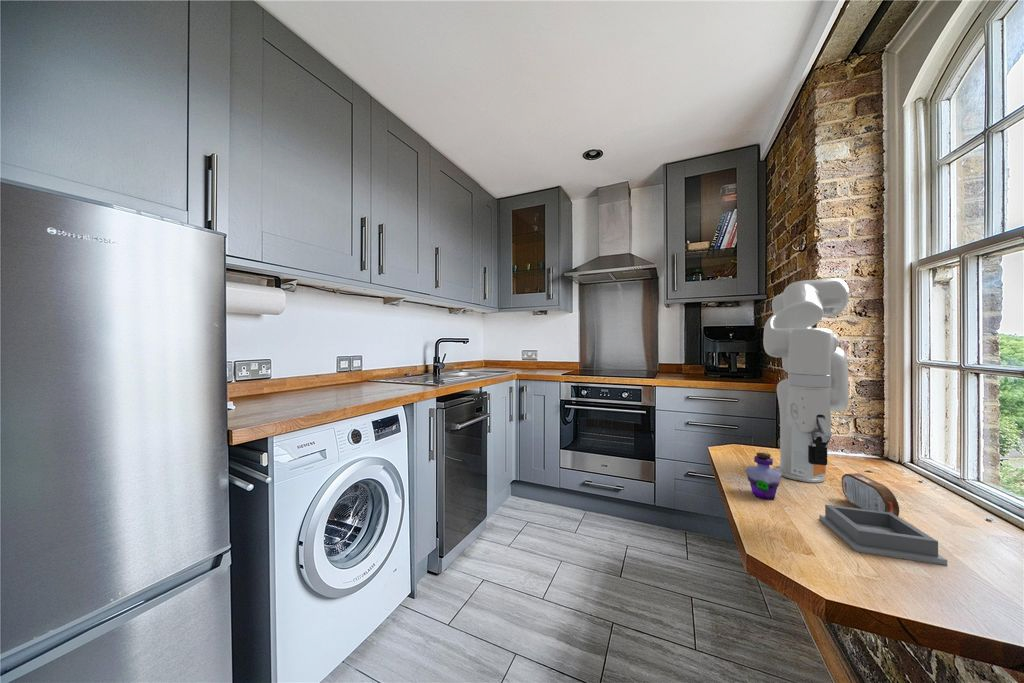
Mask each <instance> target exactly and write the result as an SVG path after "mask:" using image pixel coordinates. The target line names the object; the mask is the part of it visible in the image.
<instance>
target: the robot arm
mask: <svg viewBox="0 0 1024 683" xmlns="http://www.w3.org/2000/svg"><path fill="white" fill-rule="evenodd" d="M849 300H850V288H849V285H848V284H847V283H846V281H844V280H843V279H841V278H837V277H835V278H834V277H832V278H829V277H828V278H819V279H818V278H817V279H806V280H805V279H804V280H799V281H794V282H792V283H789V284H788V285H787V286H785V288H784V289H783V292H782V293H780V294H777V295H775V296H774V297H773V298H772V301H771V309H772V310H771V311H772V315H771V316H769V318H767V321H766V322H765V324H764V327H763V338H762V340H763V343H762V344H763V348H764V351H765V353H766V354H767V355H768V356H770V357H773V358H781V360H782V361H781V363H782V368H783V370H784V371H785V373H787V378H785V379H782V380H780V381H779V382H778V383H777V384H776V385H777V386H776V395H777V396H776V397H777V400H778V408H779V427H780V428H779V429H780V430H779V435H780V437H779V438H780V440H779V446H780V448H779V451H780V453H779V458H780V459H779V460H780V461H779V463H780V464H779V465H776V466H774V468H773V470H775V471H777V472H780V473H782V475H781V477H784V478H786V479H787V478H788V479H790V480H795V481H798V480H799V481H800V482H806V483H823V482H824V481H825V475H824V476H820V477H816V478H813V479H809V478H806V477H803V476H800V475H797V474H793V473H791V427H792V422H795V423H796V424H797V430H799V431H800V432H802V433H808V436H809V440H810V444H811V445H808V462H809V463H810V464H816V465H826V466H827V465H828V448H829V444H830V439H831V438H832V436H833V433H832V431H831V430H832V429H831V428H832V415H831V414H832V413H831V412H842V411H845V410H846V409H848V406H849V402H850V399H849V398H850V391H849V389H850V388H849V364H848V357H847V354H846V351H845V350H844V349H843V348H841V347H839V341H838V336H837V334H836V333H834V331H832V330H831V329H830V328H826V327H814V326H815V325H816V324H818V323H819V322H820V321H821V320H822V319H823V318H831V317H837V316H840V315H841V314H842V313H843V311H844V309H845V308H846V306H847V305H848V303H849ZM813 429H814V430H820V432H812V431H813ZM814 436H818V437H817V438H816V439H815V438H814Z"/></svg>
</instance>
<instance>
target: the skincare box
mask: <svg viewBox="0 0 1024 683" xmlns="http://www.w3.org/2000/svg"><path fill="white" fill-rule="evenodd" d="M812 432H820V430H814V429H813V431H812ZM817 437H818V436H814V438H815V439H816V438H817ZM808 445H811V444H810V440H809V436H808V433H802V432H800V431H799V430H797V424H796V423H795V422H792V427H791V473H793V474H797V475H800V476H803V477H806V478H809V479H813V478H816V477H820V476H824V477H825V476H826V475H827V465H816V464H810V463H809V462H808Z"/></svg>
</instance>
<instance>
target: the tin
mask: <svg viewBox="0 0 1024 683" xmlns="http://www.w3.org/2000/svg"><path fill="white" fill-rule="evenodd" d="M841 488H842V490H841V491H842V493H843V496H844V497H845V498H846V500H847V501H848V502H849V503H850V504H851V505H852V506H854V507H855V508H858V509H866V510H874V511H883V512H891V513H893V514H895V515H896V516H898V517H899V515H900V505H899V502H898V499H897V498H896V496H895V494H894V492H892V490H891V489H889V488H888V486H886V485H884V484H883V483H880V482H878V481H876V480H873V479H872V478H869V477H867V476H865V475H863V474H861V473H858V472H857V473H845V474H843V475H842V477H841Z"/></svg>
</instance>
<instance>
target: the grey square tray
mask: <svg viewBox="0 0 1024 683" xmlns="http://www.w3.org/2000/svg"><path fill="white" fill-rule="evenodd" d="M824 508H825V509H824V512H825V515H824V514H823V515H822V514H819V515H818V516H819V520H820V521H821V522H822V523H825V524H824V525H825V526H827V527H828V528H829V527H830V528H831V529H832V530H833V533H834V534H836V535H837V536H838V537H839V538H840V539H842V540H843V541H844V542H845V543H846V544H847V545H848V546H849V547H851V548H852V549H853V550H854V551H855V552H858V553H863V554H864V553H865V554H872V555H878V556H883V557H890V558H896V557H897V558H898V559H903V558H904V560H909V561H916V562H924V563H930V564H937V565H941V566H942V565H943V566H948V559H946V558H945V557H943V556H942V555H940V554H939V541H938V540H937V539H935V538H934V537H932V536H930V535H928V534H927V533H925V532H924V531H922V530H921V529H919V528H918V527H916V526H914V525H912V524H911V523H910V522H908V521H906V520H904V519H902V518H901V517H899V516H896V515H895V514H893V513H891V512H883V511H874V510H866V509H859V508H858V507H848V506H839V505H832V504H825V505H824ZM830 528H829V529H830ZM831 529H830V530H831ZM832 530H831V531H832Z"/></svg>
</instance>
